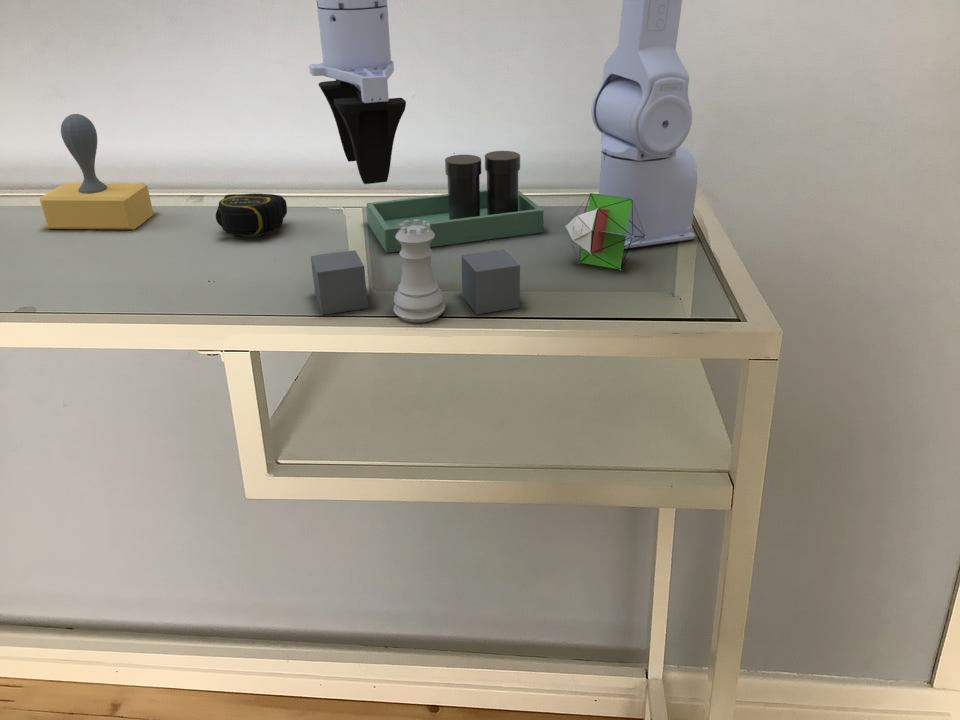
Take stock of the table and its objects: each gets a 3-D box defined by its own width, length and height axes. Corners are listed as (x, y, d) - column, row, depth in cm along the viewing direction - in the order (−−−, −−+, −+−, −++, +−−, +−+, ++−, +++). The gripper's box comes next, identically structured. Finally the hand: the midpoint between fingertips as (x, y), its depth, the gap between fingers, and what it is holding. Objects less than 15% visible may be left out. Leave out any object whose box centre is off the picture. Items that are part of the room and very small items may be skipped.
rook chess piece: (386, 321, 69) (379, 231, 65) (403, 300, 72) (397, 213, 68) (437, 326, 68) (432, 235, 64) (451, 304, 71) (448, 217, 68)
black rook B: (475, 215, 91) (474, 153, 87) (486, 226, 88) (485, 161, 84) (443, 219, 90) (440, 156, 86) (453, 230, 87) (450, 165, 83)
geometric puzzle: (591, 217, 84) (574, 171, 77) (656, 226, 81) (645, 179, 74) (569, 277, 82) (550, 236, 75) (635, 289, 79) (621, 247, 72)
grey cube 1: (359, 290, 74) (355, 249, 72) (368, 308, 71) (364, 265, 69) (315, 297, 73) (310, 255, 71) (322, 315, 70) (317, 272, 68)
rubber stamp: (46, 229, 90) (14, 120, 84) (72, 213, 95) (44, 108, 89) (133, 230, 90) (107, 120, 84) (154, 213, 95) (131, 108, 89)
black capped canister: (512, 210, 92) (512, 149, 89) (524, 221, 89) (525, 157, 85) (480, 214, 91) (480, 152, 88) (492, 225, 88) (491, 161, 84)
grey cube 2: (504, 290, 74) (504, 249, 72) (519, 307, 71) (520, 265, 69) (462, 296, 73) (461, 254, 71) (476, 314, 70) (475, 271, 68)
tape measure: (291, 221, 92) (286, 189, 90) (276, 242, 86) (271, 208, 84) (231, 222, 92) (225, 189, 90) (212, 243, 86) (206, 209, 84)
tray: (513, 207, 95) (513, 186, 94) (543, 232, 87) (543, 210, 86) (368, 224, 90) (366, 202, 89) (386, 253, 82) (384, 229, 81)
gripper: (292, 1, 71) (310, 155, 78) (315, 17, 59) (334, 198, 66) (371, -3, 73) (382, 148, 80) (409, 13, 61) (419, 189, 68)
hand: (366, 170), depth 73 cm, fingers open, 7 cm apart
